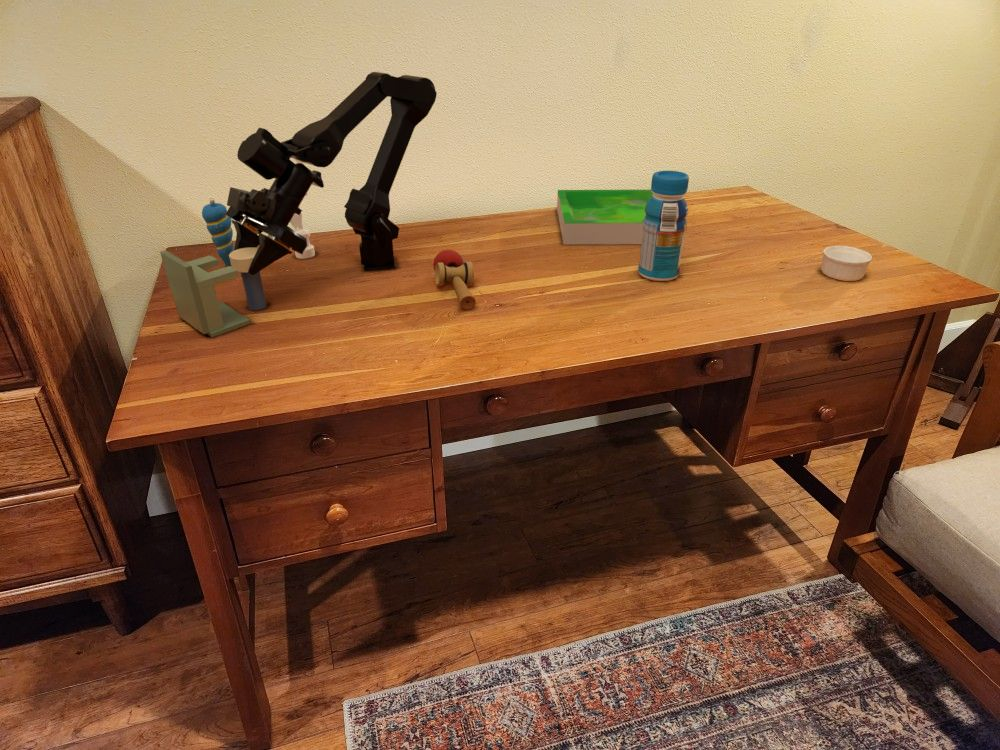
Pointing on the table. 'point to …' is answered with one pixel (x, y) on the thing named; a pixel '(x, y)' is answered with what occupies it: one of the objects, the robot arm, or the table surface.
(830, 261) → the ramekin
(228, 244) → the ornament
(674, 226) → the beverage bottle
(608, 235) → the tray
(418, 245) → the table surface
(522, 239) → the table surface
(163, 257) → the stand
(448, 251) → the kendama
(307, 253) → the decorative finial
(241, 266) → the peg
